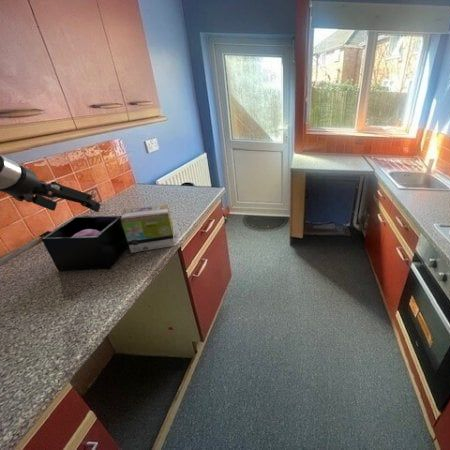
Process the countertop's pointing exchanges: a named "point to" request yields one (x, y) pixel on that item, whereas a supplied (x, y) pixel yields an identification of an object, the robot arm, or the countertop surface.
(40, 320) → the countertop surface
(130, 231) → the tea box
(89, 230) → the cupcake
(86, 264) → the waste bin
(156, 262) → the countertop surface
